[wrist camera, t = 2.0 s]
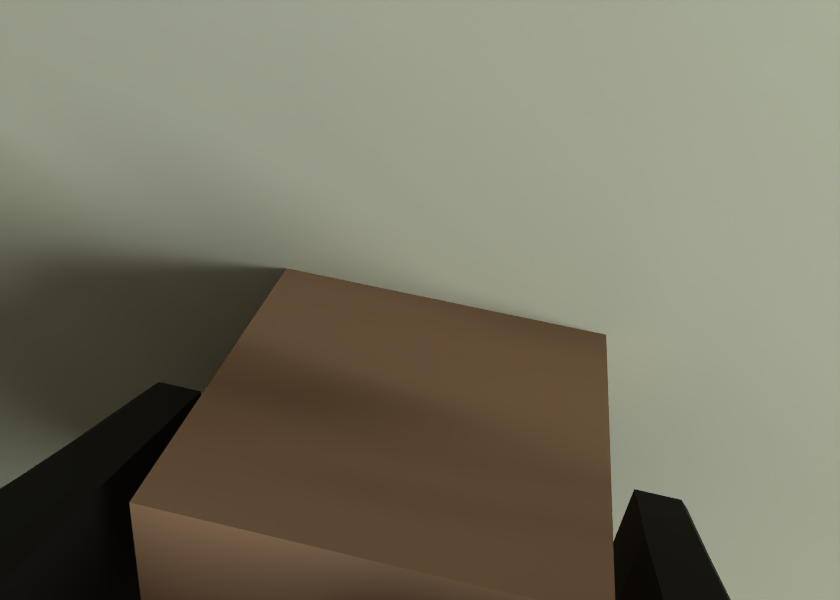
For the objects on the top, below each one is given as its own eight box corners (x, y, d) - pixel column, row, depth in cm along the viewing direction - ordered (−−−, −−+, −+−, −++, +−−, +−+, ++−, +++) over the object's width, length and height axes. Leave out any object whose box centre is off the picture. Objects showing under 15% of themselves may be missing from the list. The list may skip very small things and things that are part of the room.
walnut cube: (537, 547, 13) (516, 846, 9) (280, 487, 13) (159, 750, 10) (606, 331, 10) (616, 618, 7) (288, 265, 11) (129, 501, 7)
